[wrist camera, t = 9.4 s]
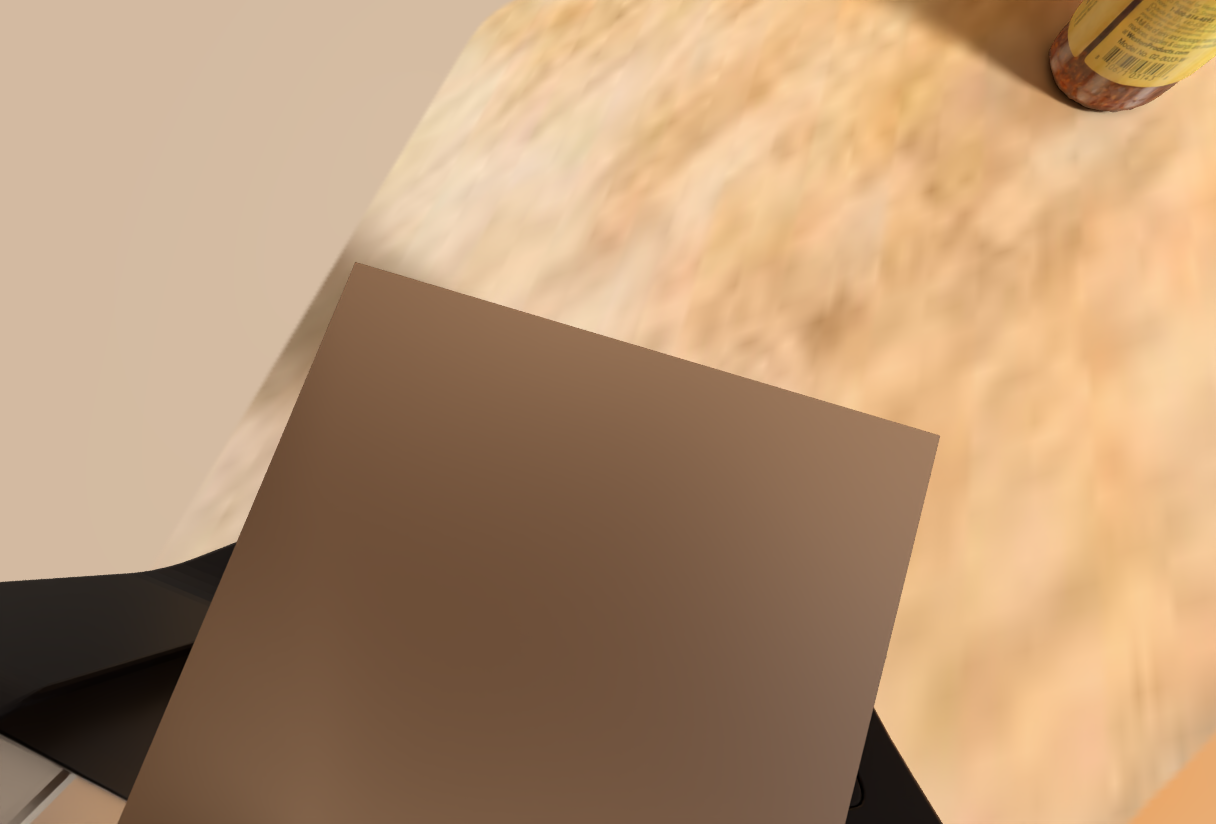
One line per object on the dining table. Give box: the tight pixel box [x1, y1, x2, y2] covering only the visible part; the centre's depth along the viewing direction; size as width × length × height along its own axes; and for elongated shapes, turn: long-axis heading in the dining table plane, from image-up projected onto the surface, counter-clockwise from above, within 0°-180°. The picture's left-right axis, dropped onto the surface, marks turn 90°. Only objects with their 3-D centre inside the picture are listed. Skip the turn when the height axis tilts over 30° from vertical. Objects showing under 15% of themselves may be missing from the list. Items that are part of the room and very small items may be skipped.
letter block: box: [117, 262, 940, 824], centre depth 10 cm, size 5×5×13 cm
